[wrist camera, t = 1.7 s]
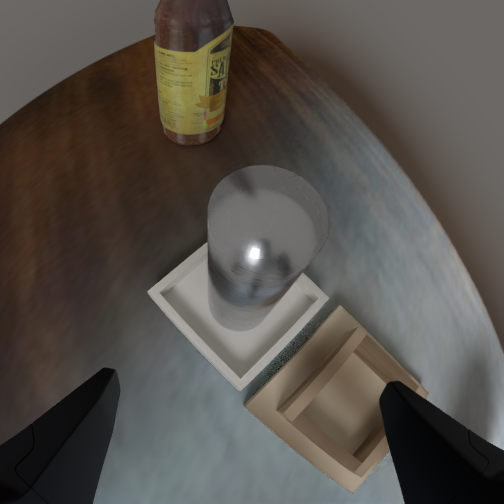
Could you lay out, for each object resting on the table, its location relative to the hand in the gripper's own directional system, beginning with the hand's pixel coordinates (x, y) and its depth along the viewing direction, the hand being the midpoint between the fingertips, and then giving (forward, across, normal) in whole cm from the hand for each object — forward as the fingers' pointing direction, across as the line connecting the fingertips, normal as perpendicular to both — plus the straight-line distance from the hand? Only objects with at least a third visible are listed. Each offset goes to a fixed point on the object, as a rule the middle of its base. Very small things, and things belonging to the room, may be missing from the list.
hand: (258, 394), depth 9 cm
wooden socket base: (+8, -8, +10) cm, 15 cm away
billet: (+12, 0, +4) cm, 13 cm away
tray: (+13, 0, +4) cm, 14 cm away
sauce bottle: (+25, +6, -8) cm, 27 cm away
